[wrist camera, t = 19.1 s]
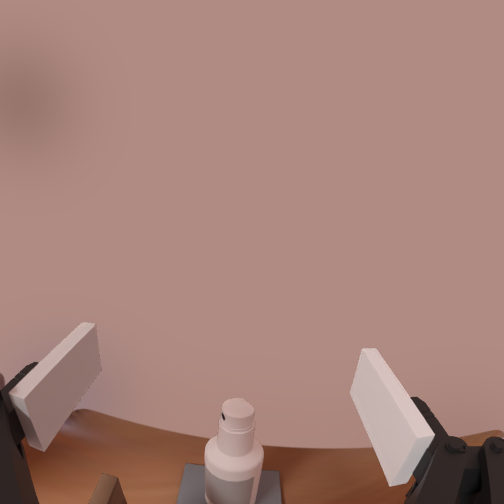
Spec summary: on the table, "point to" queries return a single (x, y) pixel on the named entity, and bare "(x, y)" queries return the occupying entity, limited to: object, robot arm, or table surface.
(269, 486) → the mat
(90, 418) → the table surface
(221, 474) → the spray bottle
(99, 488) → the rack
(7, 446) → the robot arm
